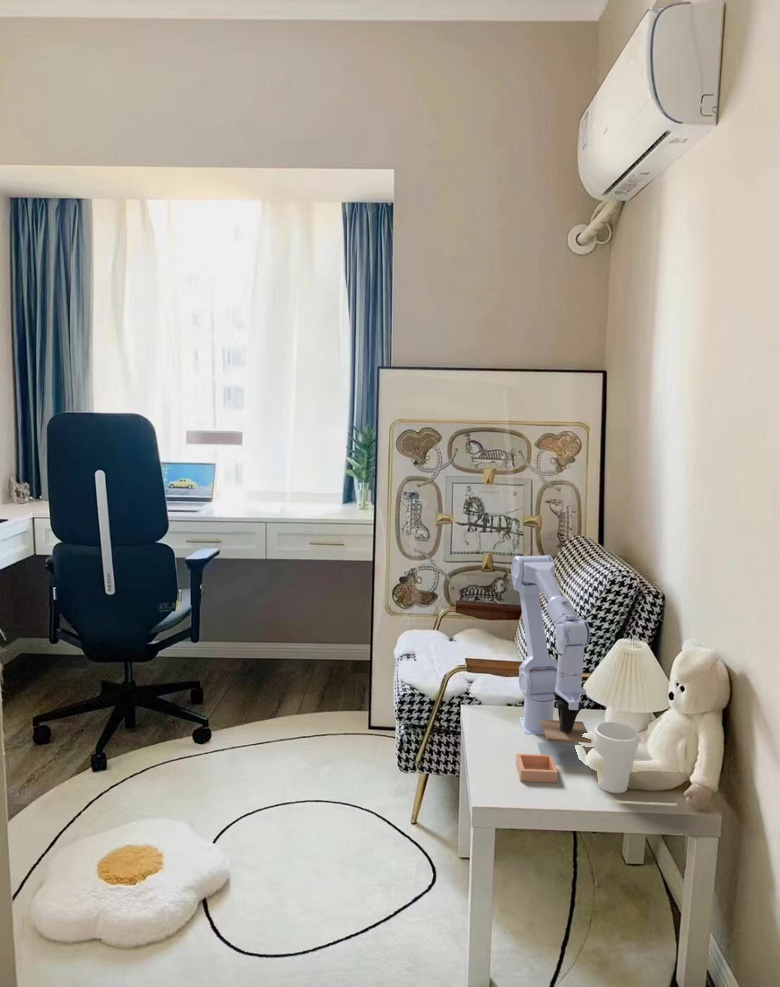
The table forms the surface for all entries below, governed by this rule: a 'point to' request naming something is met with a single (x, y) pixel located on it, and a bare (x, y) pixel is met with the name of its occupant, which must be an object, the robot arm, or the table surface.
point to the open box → (536, 768)
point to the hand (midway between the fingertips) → (565, 726)
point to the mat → (561, 753)
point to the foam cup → (616, 753)
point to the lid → (564, 731)
